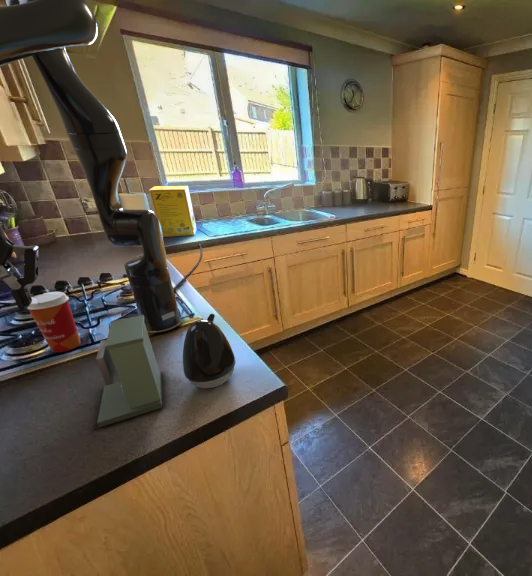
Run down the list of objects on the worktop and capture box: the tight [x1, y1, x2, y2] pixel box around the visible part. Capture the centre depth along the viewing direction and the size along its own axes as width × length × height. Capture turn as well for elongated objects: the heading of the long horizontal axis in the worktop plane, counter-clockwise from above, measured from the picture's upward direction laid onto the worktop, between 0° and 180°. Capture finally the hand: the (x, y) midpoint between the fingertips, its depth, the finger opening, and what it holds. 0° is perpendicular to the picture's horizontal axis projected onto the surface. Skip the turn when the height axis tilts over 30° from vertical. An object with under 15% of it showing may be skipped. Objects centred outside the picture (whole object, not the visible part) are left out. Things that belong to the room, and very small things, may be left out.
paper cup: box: [26, 291, 81, 353], centre depth 81 cm, size 8×8×14 cm
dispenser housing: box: [96, 315, 163, 428], centre depth 65 cm, size 12×10×16 cm
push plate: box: [95, 339, 116, 385], centre depth 63 cm, size 7×1×6 cm, turn 33°
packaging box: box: [148, 185, 197, 238], centre depth 183 cm, size 16×16×25 cm
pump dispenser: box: [182, 313, 237, 389], centre depth 71 cm, size 10×10×15 cm
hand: (4, 310), depth 53 cm, fingers open, 4 cm apart
